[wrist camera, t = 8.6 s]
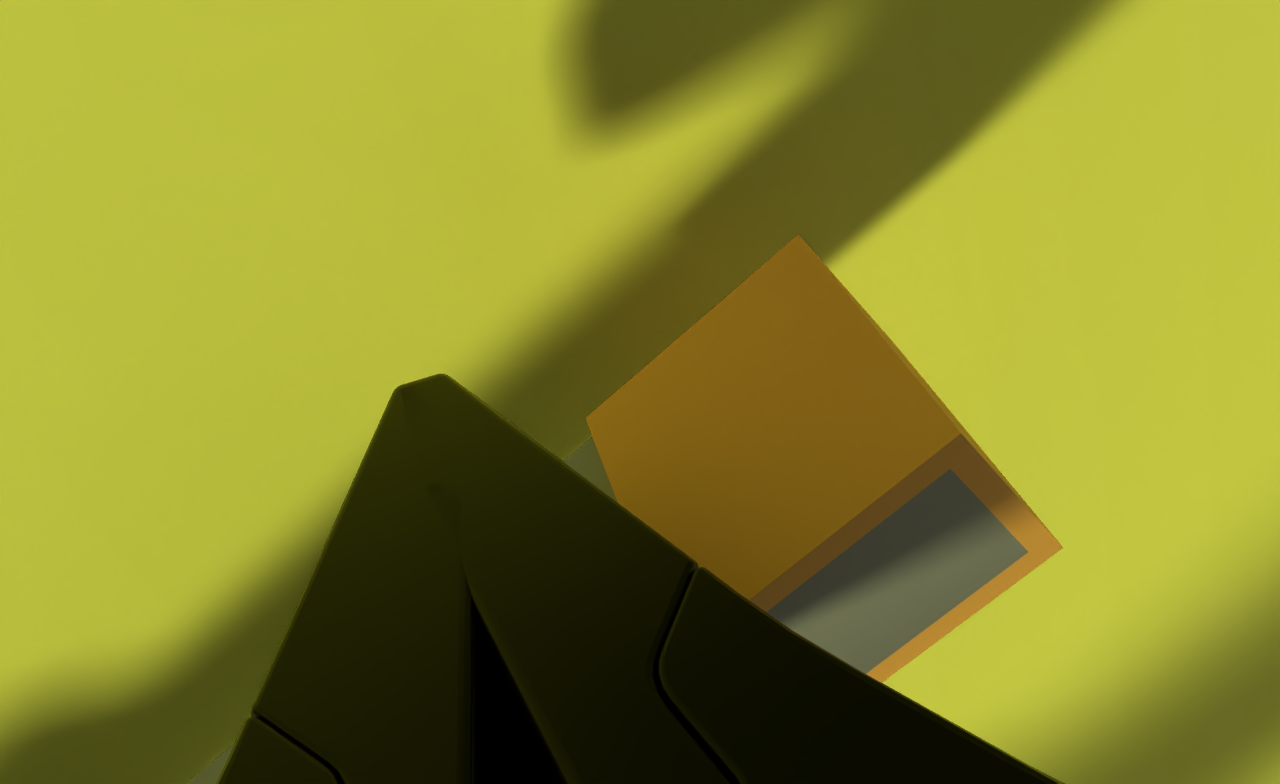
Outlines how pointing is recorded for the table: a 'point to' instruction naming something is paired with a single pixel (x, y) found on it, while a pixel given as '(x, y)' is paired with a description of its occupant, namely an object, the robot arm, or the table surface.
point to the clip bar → (811, 472)
